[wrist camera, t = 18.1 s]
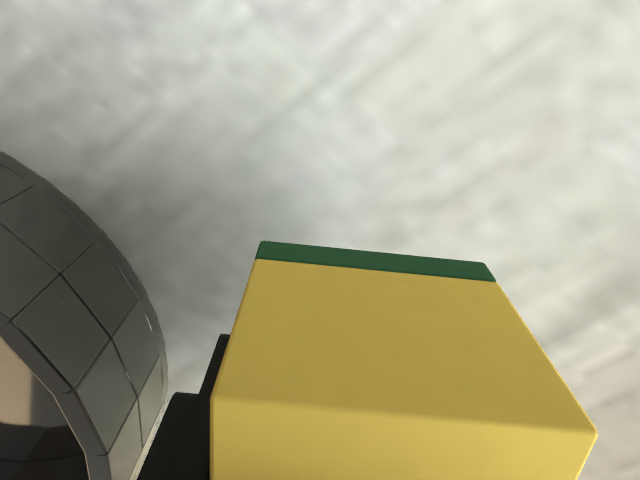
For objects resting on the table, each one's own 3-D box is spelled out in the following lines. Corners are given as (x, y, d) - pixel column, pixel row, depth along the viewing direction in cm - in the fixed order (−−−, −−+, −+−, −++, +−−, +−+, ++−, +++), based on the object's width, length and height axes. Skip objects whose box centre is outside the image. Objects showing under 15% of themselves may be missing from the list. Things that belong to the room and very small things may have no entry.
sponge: (260, 239, 9) (208, 397, 5) (484, 261, 9) (602, 432, 5) (247, 478, 12) (208, 699, 8) (419, 493, 12) (463, 717, 8)
